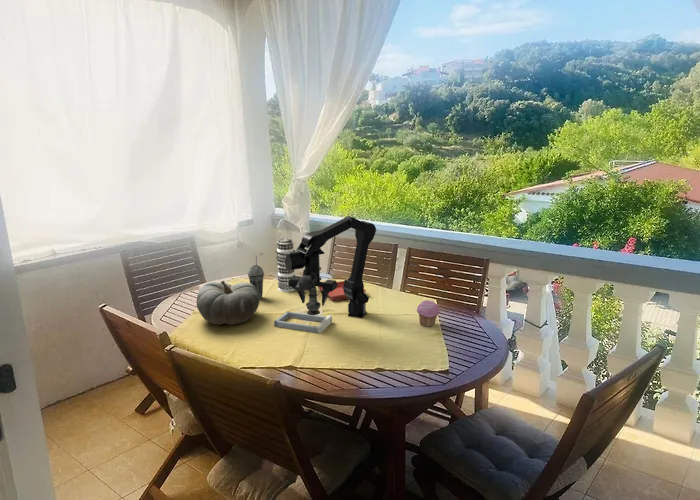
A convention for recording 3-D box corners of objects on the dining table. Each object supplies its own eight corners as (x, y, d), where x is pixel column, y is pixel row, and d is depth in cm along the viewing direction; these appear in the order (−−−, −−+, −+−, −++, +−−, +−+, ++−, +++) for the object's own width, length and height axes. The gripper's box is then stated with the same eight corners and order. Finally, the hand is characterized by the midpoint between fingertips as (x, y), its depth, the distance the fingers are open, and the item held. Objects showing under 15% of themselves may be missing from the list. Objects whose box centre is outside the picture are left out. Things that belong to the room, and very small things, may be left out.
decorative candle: (295, 292, 234) (293, 241, 228) (276, 292, 234) (273, 241, 228) (297, 286, 243) (296, 236, 236) (278, 286, 243) (276, 236, 237)
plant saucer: (316, 291, 236) (316, 284, 235) (350, 286, 244) (350, 279, 243) (330, 303, 220) (330, 296, 220) (366, 297, 228) (366, 290, 227)
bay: (331, 322, 199) (331, 315, 198) (320, 333, 188) (320, 325, 188) (287, 315, 205) (287, 309, 205) (274, 326, 195) (273, 319, 194)
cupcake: (425, 319, 202) (426, 296, 199) (443, 325, 196) (444, 301, 193) (412, 325, 196) (412, 301, 193) (429, 331, 190) (430, 307, 187)
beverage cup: (246, 299, 224) (243, 257, 219) (254, 294, 231) (252, 253, 226) (259, 301, 222) (257, 259, 217) (268, 296, 228) (266, 255, 223)
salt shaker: (303, 311, 195) (302, 282, 192) (317, 308, 198) (316, 280, 195) (309, 316, 190) (308, 287, 187) (323, 313, 193) (322, 284, 190)
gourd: (191, 306, 209) (196, 268, 204) (249, 307, 219) (255, 271, 215) (198, 334, 187) (203, 293, 182) (262, 334, 198) (268, 294, 193)
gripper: (280, 269, 185) (282, 308, 189) (326, 274, 179) (327, 314, 183) (293, 261, 195) (295, 298, 199) (337, 266, 189) (338, 304, 193)
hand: (313, 304), depth 193 cm, fingers closed on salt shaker, 8 cm apart
